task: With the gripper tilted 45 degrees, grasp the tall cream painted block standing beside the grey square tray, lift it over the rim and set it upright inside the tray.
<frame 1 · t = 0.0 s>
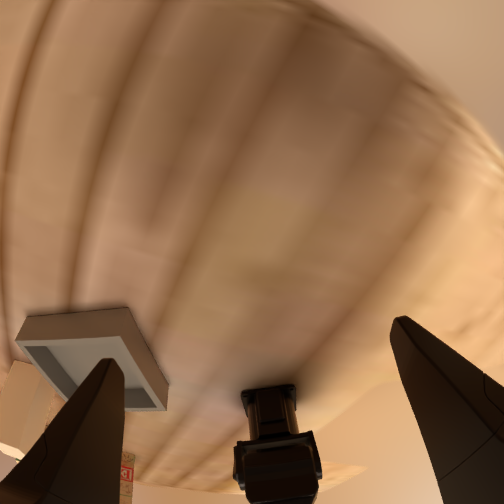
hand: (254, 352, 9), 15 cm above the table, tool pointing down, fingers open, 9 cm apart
stack of blocks: (79, 441, 45), on the table
grey square tray: (97, 355, 31), on the table
cream block: (35, 375, 33), on the table
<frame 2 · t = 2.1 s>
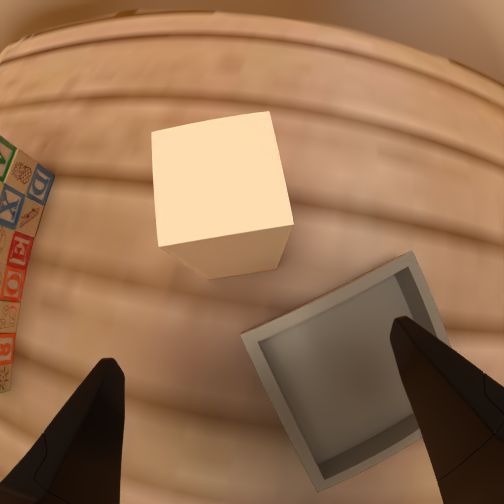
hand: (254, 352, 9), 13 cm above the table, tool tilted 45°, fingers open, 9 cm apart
stack of blocks: (6, 278, 24), on the table
grey square tray: (356, 370, 22), on the table
cream block: (237, 240, 24), on the table
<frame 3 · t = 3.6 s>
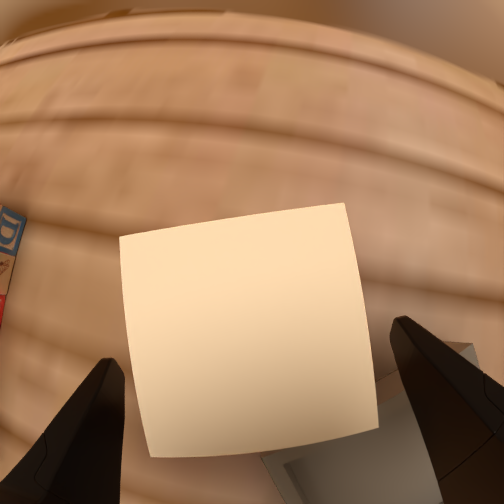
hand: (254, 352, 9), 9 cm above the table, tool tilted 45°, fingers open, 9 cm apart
grey square tray: (389, 467, 16), on the table
cream block: (255, 325, 18), on the table
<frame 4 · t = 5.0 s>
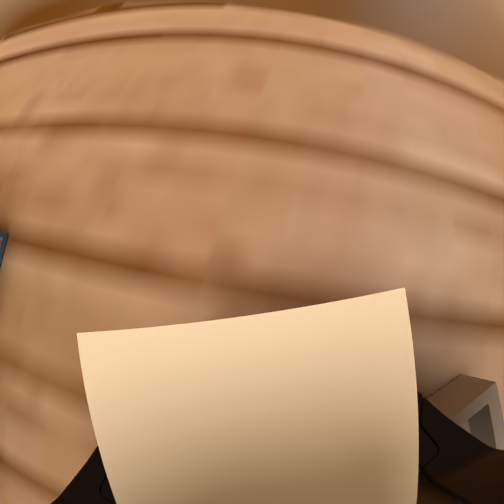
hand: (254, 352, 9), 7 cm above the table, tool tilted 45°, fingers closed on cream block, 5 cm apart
grey square tray: (399, 502, 13), on the table
cream block: (260, 365, 16), on the table, touching gripper
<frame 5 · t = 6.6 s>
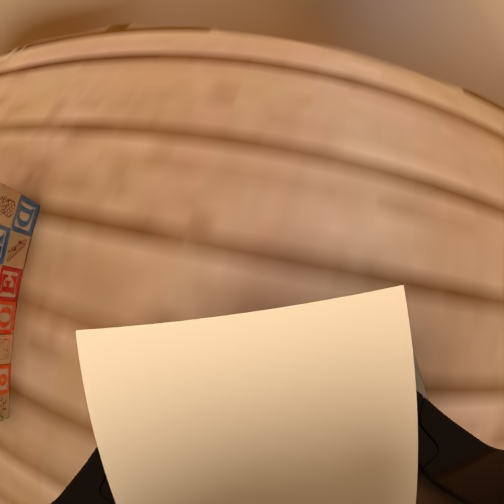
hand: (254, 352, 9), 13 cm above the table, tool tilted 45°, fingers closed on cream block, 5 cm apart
cream block: (259, 364, 16), point 6 cm above the table, touching gripper
when the fingers open (9 cm above the table, at t = 8.6 s): cream block drops 1 cm, resting on grey square tray.
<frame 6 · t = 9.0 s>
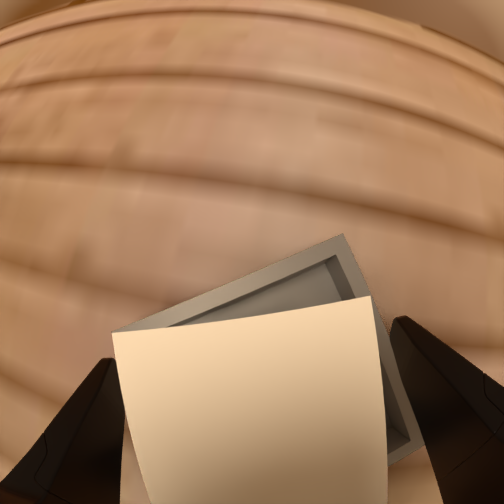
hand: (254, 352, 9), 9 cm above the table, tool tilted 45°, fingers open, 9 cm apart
grey square tray: (274, 389, 17), on the table
cream block: (259, 361, 17), point 1 cm above the table, touching grey square tray
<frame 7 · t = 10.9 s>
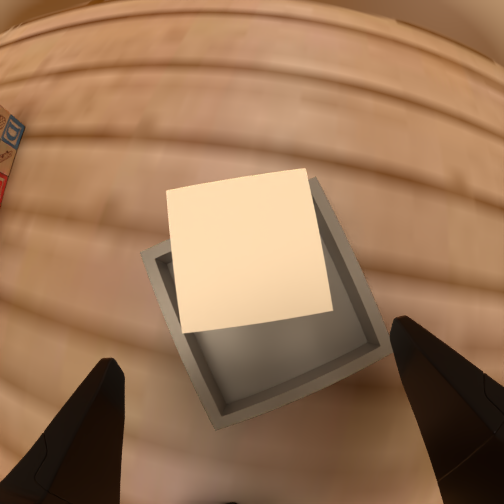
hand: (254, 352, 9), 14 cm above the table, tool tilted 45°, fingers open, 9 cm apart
grey square tray: (267, 305, 23), on the table
cream block: (255, 279, 23), point 1 cm above the table, touching grey square tray
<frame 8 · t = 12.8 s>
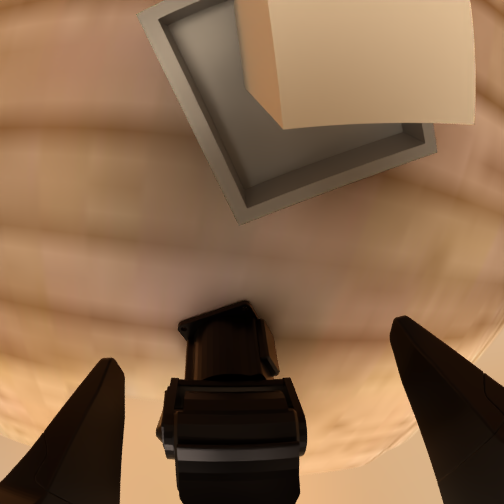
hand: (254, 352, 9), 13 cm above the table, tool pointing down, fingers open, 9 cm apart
grey square tray: (295, 72, 16), on the table
cream block: (284, 42, 15), point 1 cm above the table, touching grey square tray
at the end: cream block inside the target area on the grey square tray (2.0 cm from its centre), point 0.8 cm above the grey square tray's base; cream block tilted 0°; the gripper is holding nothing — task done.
